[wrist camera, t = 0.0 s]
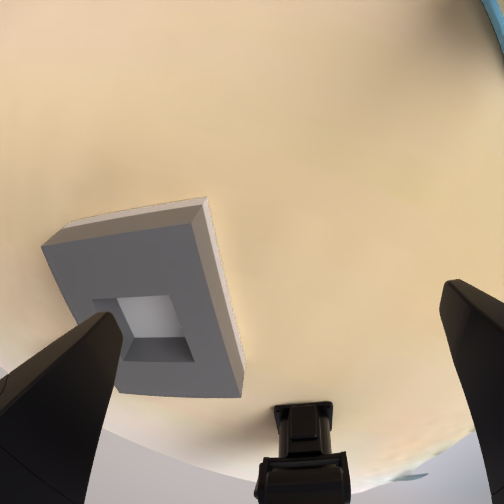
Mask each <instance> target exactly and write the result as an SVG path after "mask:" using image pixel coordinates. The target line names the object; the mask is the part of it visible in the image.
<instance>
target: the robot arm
mask: <svg viewBox="0 0 504 504" xmlns="http://www.w3.org/2000/svg"><path fill="white" fill-rule="evenodd" d="M439 312H440V317H441V320H442V323H443V327H444V330H445V333H446V337H447V341H448V344H449V348H450V352H451V355H452V359H453V362H454V365H455V368H456V371H457V374H458V376H459V379H460V382H461V385H462V388H463V391H464V394H465V397H466V400H467V403H468V406H469V409H470V412H471V416H472V419H473V422H474V426H475V429H476V432H477V436H478V439H479V444H480V447H481V451H482V455H483V459H484V464H485V468H486V472H487V477H488V481H489V486H490V492H491V495H492V497H491V498H492V504H504V303H503V302H501V301H499V300H497V299H496V298H494V297H492V296H490V295H488V294H487V293H485V292H483V291H481V290H479V289H477V288H475V287H474V286H472V285H470V284H468V283H466V282H464V281H462V280H460V279H455V280H448V281H446V282H445V284H444V287H443V292H442V297H441V302H440V307H439ZM122 344H123V334H122V331H121V329H120V327H119V325H118V323H117V321H116V319H115V317H114V315H113V314H112V313H111V312H109V311H102V312H97V313H95V314H94V315H92V316H91V317H89V318H88V319H86V320H85V321H83V322H82V323H81V324H79V325H78V326H76V327H75V328H73V329H72V330H70V331H69V332H67V333H66V334H64V335H63V336H61V337H60V338H59V339H57V340H56V341H54V342H53V343H51V344H50V345H48V346H47V347H46V348H44V349H43V350H41V351H40V352H38V353H37V354H36V355H34V356H33V357H31V358H30V359H28V360H27V361H26V362H24V363H23V364H21V365H20V366H19V367H17V368H16V369H14V370H13V371H12V372H10V373H9V374H7V375H6V376H4V377H3V378H2V379H0V504H84V501H85V496H86V492H87V487H88V482H89V477H90V474H91V469H92V465H93V461H94V456H95V452H96V449H97V445H98V441H99V437H100V433H101V429H102V426H103V422H104V418H105V415H106V411H107V408H108V404H109V401H110V397H111V394H112V390H113V387H114V382H115V378H116V373H117V368H118V363H119V358H120V353H121V349H122ZM274 415H275V420H276V424H277V429H278V434H279V458H269V457H264V458H263V463H260V465H259V476H258V480H257V484H256V487H255V490H254V497H255V498H256V499H258V502H259V504H350V500H351V485H350V476H349V469H348V463H347V457H346V451H344V452H341V453H334V454H332V452H331V439H330V431H331V430H332V415H333V403H332V402H321V403H310V404H298V405H283V406H275V407H274Z"/></svg>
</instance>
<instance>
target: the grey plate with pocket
mask: <svg viewBox="0 0 504 504" xmlns="http://www.w3.org/2000/svg"><path fill="white" fill-rule="evenodd" d="M41 248H42V251H43V253H44V255H45V258H46V260H47V262H48V265H49V267H50V269H51V271H52V274H53V276H54V278H55V280H56V282H57V284H58V287H59V289H60V291H61V293H62V295H63V297H64V299H65V301H66V303H67V305H68V307H69V309H70V311H71V313H72V315H73V316H74V318H75V320H76V322H77V324H78V325H79V324H81V323H82V322H83V321H85V320H86V319H88V318H89V317H91V316H92V315H94V314H95V313H97V312H102V311H109V312H111V313H112V314H113V315H114V317H115V319H116V321H117V323H118V325H119V327H120V329H121V331H122V334H123V344H122V349H121V353H120V358H119V363H118V368H117V373H116V378H115V382H114V385H115V387H116V388H117V390H118V391H119V393H125V394H136V395H149V396H164V397H187V398H241V395H242V387H243V379H244V370H245V362H246V359H245V355H244V351H243V347H242V344H241V340H240V336H239V332H238V328H237V324H236V320H235V316H234V311H233V307H232V303H231V299H230V295H229V291H228V287H227V283H226V278H225V274H224V270H223V266H222V261H221V257H220V253H219V248H218V244H217V240H216V235H215V231H214V226H213V222H212V218H211V213H210V209H209V204H208V199H207V197H202V198H196V199H189V200H183V201H177V202H170V203H164V204H158V205H152V206H147V207H141V208H135V209H130V210H124V211H119V212H114V213H109V214H103V215H98V216H93V217H88V218H84V219H79V220H74V221H71V222H69V223H68V224H67V225H66V226H64V227H63V228H62V229H61V230H60V231H58V232H57V233H56V234H55V235H54V236H53V237H51V238H50V239H49V240H48V241H47V242H46V243H44V244H43V245H42V246H41Z"/></svg>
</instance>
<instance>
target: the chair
mask: <svg viewBox="0 0 504 504" xmlns="http://www.w3.org/2000/svg"><path fill="white" fill-rule="evenodd" d="M481 1H482V3H483V5H484V7H485V9H486V11H487V13H488V16H489V18H490V20H491V23H492V25H493V28H494V30H495V33H496V35H497V38H498V41H499V43H500V46H501V49H502V52H503V55H504V17H503V15H502V12H501V10H500V7H499V5H498V3H497V0H481Z"/></svg>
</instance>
